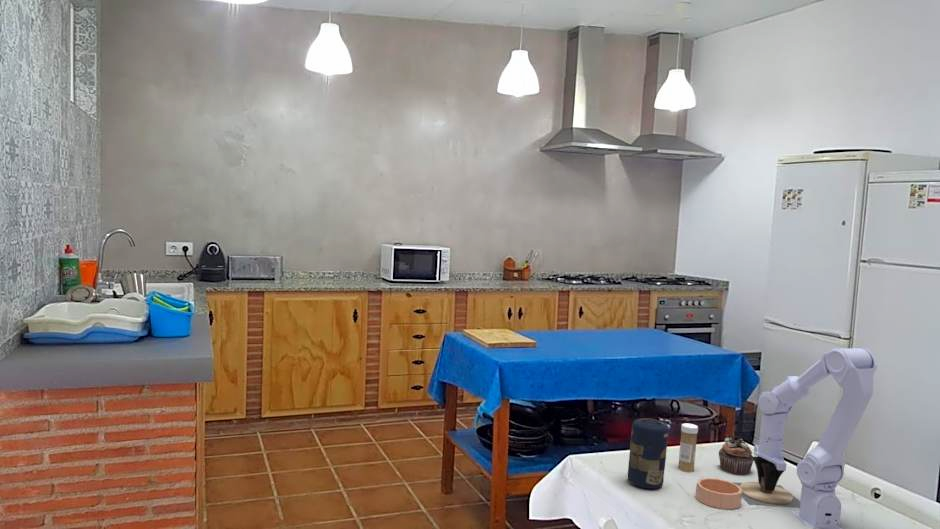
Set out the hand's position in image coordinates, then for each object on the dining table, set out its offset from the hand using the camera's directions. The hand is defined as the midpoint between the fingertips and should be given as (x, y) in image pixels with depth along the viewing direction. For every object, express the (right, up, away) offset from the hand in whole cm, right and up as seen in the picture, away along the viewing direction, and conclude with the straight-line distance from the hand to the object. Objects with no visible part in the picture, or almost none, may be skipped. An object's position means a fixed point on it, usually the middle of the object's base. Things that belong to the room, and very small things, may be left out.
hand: (766, 487), depth 188 cm
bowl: (-15, -2, -6) cm, 16 cm away
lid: (0, -2, 0) cm, 2 cm away
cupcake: (-2, -1, +18) cm, 18 cm away
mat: (0, -2, 0) cm, 2 cm away
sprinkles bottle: (-17, 0, +16) cm, 23 cm away
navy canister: (-31, 0, +3) cm, 31 cm away
